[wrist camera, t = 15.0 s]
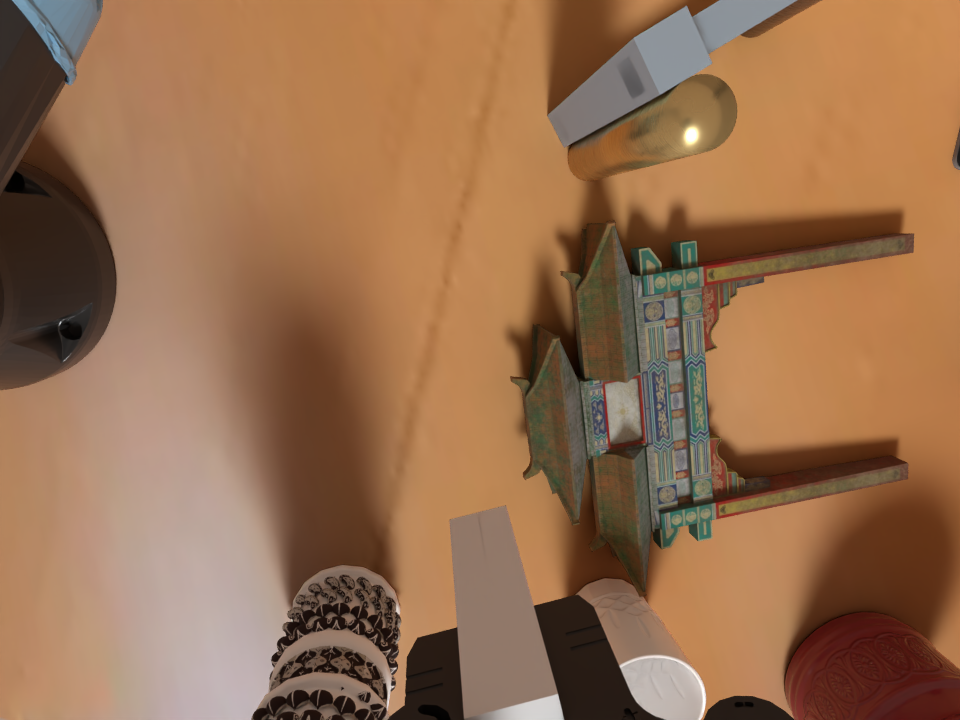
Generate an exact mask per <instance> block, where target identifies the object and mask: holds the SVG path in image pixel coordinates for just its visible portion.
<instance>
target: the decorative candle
mask: <svg viewBox="0 0 960 720" xmlns="http://www.w3.org/2000/svg"><path fill="white" fill-rule="evenodd" d="M287 615H288V617H289V618H290V619H291V621H292V622H286V623H284V624H283V631H284V632H285V633H286V636H284V637H282V638H280V639H279V640H278V642H277V648H278V650H279V651H278V652H276V653H275V654H274V655H273V656H272V659H271V662H272V665H273V667H274V670H273V671H272V673H271V674H270V682H269V692H268V694H266V695H265V697H264V699H263V700H262V702H261V703H260V705H259V707H258V708H257V710H256V711H255V712H254V714H253V716H252V720H388V719H389V714H388V705H389V698H390V692H391V691H392V690H394V688H395V685H396V682H395V678H394V677H393V676H392V675H394V674H395V673H396V671H397V669H398V664H397V662H396V661H395V660H394V659H395V658H396V657H397V655H398V653H399V650H398V644H397V643H398V641H399V639H400V630H399V627H400V625H401V618H400V605H399V602H398V599H397V596H396V592H395V590H394V589H393V588H392V587H391V586H390V585H389V583H388V582H387V581H386V580H385V579H384V578H383V577H382V576H381V575H379V574H377V573H375V572H373V571H371V570H369V569H367V568H364V567H359V566H348V565H339V566H336V567H332V568H328V569H324V570H321V571H319V572H318V573H317V574H315V575H314V576H312V577H311V578H310V579H308V580H307V581H305V582H304V584H303V585H302V587H301V589H300V590H299V592H298V593H297V595H296V597H295V598H294V601H293V608H292V610H289V611H288V613H287Z"/></svg>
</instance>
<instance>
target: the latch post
mask: <svg viewBox="0 0 960 720" xmlns="http://www.w3.org/2000/svg"><path fill="white" fill-rule="evenodd" d="M736 118H737V103H736V99H735V96H734V94H733V92H732V90H731V89H730V87H729V86H728V85H727V84H726V83H725V82H724V81H723V80H721V79H720V78H718V77H716V76H713V75H708V74H700V75H695V76H692V77H689V78H687V79H686V80H684V81H682V82H681V83H679V84H677V85H676V86H674V87H672V88H671V89H669V90H667V91H666V92H664V93H662V94H661V95H659V96H657V97H655V98H653V99H652V100H650V101H648V102H646V103H644V104H643V105H641V106H639V107H637V108H635V109H634V110H632V111H630V112H628V113H626V114H624V115H623V116H621V117H619V118H617V119H615V120H614V121H612V122H610V123H608V124H606V125H604V126H603V127H601V128H599V129H597V130H595V131H594V132H592V133H590V134H588V135H586V136H584V137H583V138H581V139H579V140H577V141H575V142H574V143H573V145H572V146H571V148H570V150H569V154H568V165H569V168H570V170H571V172H572V173H573V174H574V175H575V176H576V177H577V178H579V179H581V180H584V181H594V180H597V179H601V178H605V177H609V176H613V175H617V174H621V173H625V172H629V171H633V170H637V169H641V168H645V167H649V166H652V165H656V164H660V163H664V162H668V161H672V160H676V159H680V158H684V157H688V156H692V155H696V154H700V153H704V152H707V151H711V150H713V149H715V148H717V147H718V146H720V145H721V144H722V143H724V142H725V140H726V139H727V138H728V137H729V136H730V134H731V132H732V131H733V128H734V126H735V123H736Z"/></svg>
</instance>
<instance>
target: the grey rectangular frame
mask: <svg viewBox="0 0 960 720" xmlns="http://www.w3.org/2000/svg"><path fill="white" fill-rule="evenodd" d="M795 1H797V0H719V1H717V2H716V3H714V4H713V5H711V6H709V7H708V8H706V9H704V10H703V11H701V12H699V13H698V14H696V15H694V16H693V17H692V16H691V14H690V12H689V10H688V7H687V6H685V7H684V8H682V9H680V10H679V11H677V12H675V13H674V14H672V15H671V16H669V17H667V18H666V19H664V20H662V21H661V22H659V23H657V24H656V25H654V26H652V27H651V28H649V29H647V30H646V31H644V32H643V33H641V34H639V35H638V36H636V37H634V38H633V39H632V40H631V41H630V42H628V43H627V44H626V45H625V46H624V47H623V48H622V49H621V50H620V51H618V52H617V53H616V54H615V55H614V56H613V57H612V58H611V59H610V60H608V61H607V62H606V63H605V64H604V65H603V66H602V67H601V68H600V69H598V70H597V71H596V72H595V73H594V74H593V75H592V76H591V77H589V78H588V79H587V80H586V81H585V82H584V83H583V84H582V85H581V86H579V87H578V88H577V89H576V90H575V91H574V92H573V93H572V94H571V95H569V96H568V97H567V98H566V99H565V100H564V101H563V102H562V103H561V104H559V105H558V106H557V107H556V108H555V109H554V110H553V111H552V112H551V113H549V114H548V115H547V116H548V117H549V119H550V121H551V123H552V125H553V127H554V129H555V131H556V133H557V135H558V137H559V139H560V141H561V143H562V145H563V147H566V146H568V145H570V144H572V143H574V142H575V141H577V140H579V139H581V138H583V137H584V136H586V135H588V134H590V133H592V132H594V131H595V130H597V129H599V128H601V127H603V126H604V125H606V124H608V123H610V122H612V121H614V120H615V119H617V118H619V117H621V116H623V115H624V114H626V113H628V112H630V111H632V110H634V109H635V108H637V107H639V106H641V105H643V104H644V103H646V102H648V101H650V100H652V99H653V98H655V97H657V96H659V95H661V94H662V93H664V92H666V91H667V90H669V89H671V88H672V87H674V86H676V85H677V84H679V83H681V82H682V81H684V80H686V79H687V78H689V77H691V76H692V75H694V74H696V73H697V72H699V71H701V70H702V69H704V68H706V67H707V66H709V65H711V64H712V62H711V59H710V57H709V55H708V54H709V53H711V52H712V51H714V50H716V49H717V48H719V47H721V46H722V45H724V44H726V43H727V42H729V41H731V40H732V39H734V38H736V37H737V36H739V35H740V34H742V33H744V32H745V31H747V30H749V29H750V28H752V27H754V26H755V25H757V24H759V23H760V22H762V21H764V20H765V19H767V18H769V17H770V16H772V15H774V14H775V13H777V12H779V11H780V10H782V9H784V8H785V7H787V6H789V5H790V4H792V3H794V2H795Z"/></svg>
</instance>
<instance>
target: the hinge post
mask: <svg viewBox="0 0 960 720" xmlns="http://www.w3.org/2000/svg"><path fill="white" fill-rule="evenodd" d="M819 1H821V0H797V1H795V2H794V3H792V4H790V5H789V6H787V7H785V8H784V9H782V10H780V11H779V12H777V13H775V14H774V15H772V16H770V17H769V18H767V19H765V20H764V21H762V22H760V23H759V24H757V25H755V26H754V27H752V28H750V29H749V30H747V31H745V32H744V33H742V34H740V35H742V36H744V37H748V38H752V37H757V36H759V35H761V34H763V33H765V32H766V31H768V30H770V29H772V28H773V27H775V26H777V25H779V24H781V23H782V22H784V21H786V20H788V19H789V18H791V17H793V16H795V15H796V14H798V13H800V12H802V11H804V10H805V9H807V8H809V7H811V6H812V5H814V4H816V3H818V2H819Z"/></svg>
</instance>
